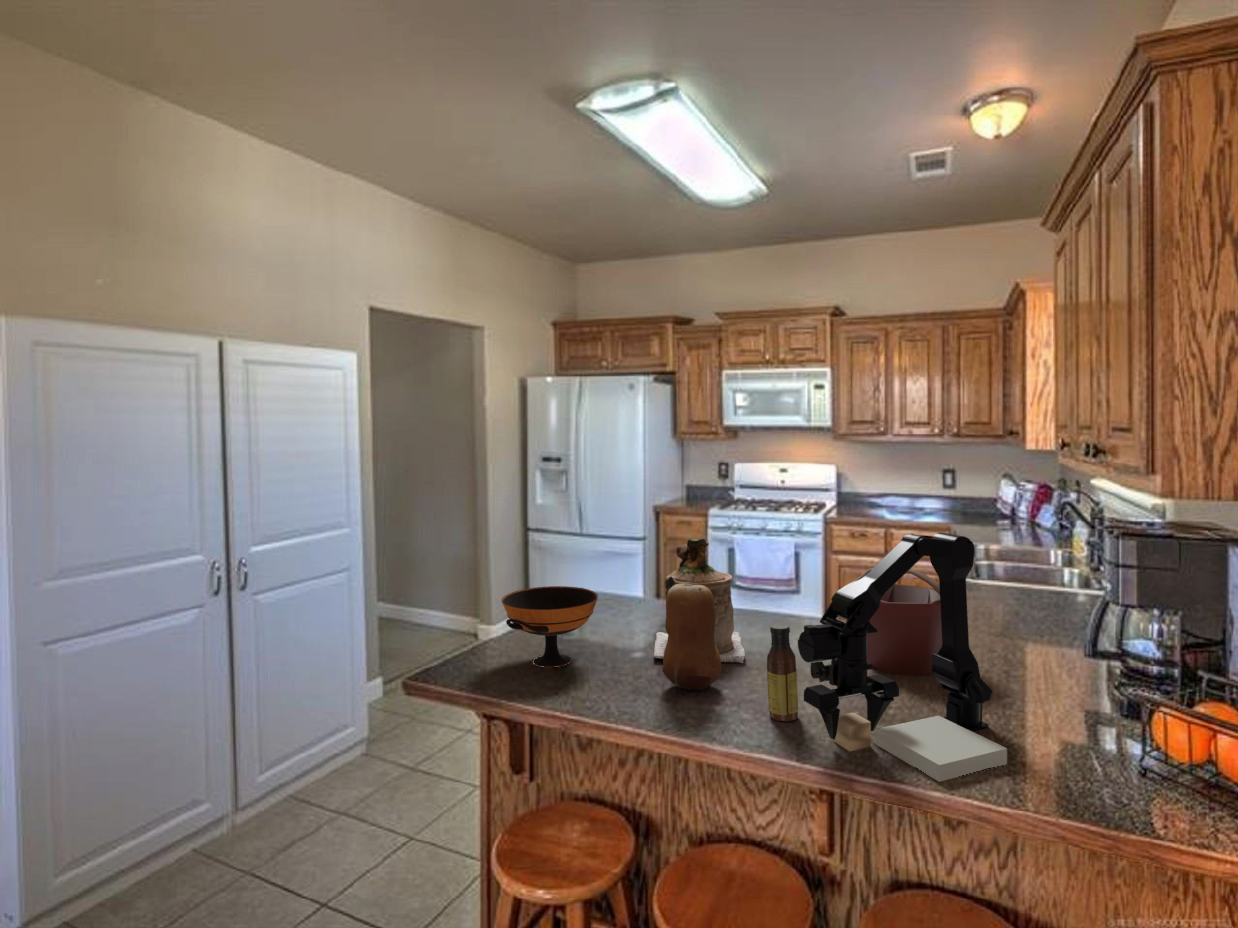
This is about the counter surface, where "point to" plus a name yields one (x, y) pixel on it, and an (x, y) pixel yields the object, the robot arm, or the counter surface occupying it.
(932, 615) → the bucket
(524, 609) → the cup
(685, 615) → the butternut squash
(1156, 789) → the counter surface
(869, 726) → the pine cube
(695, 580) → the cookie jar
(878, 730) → the plinth
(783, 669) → the sauce bottle
